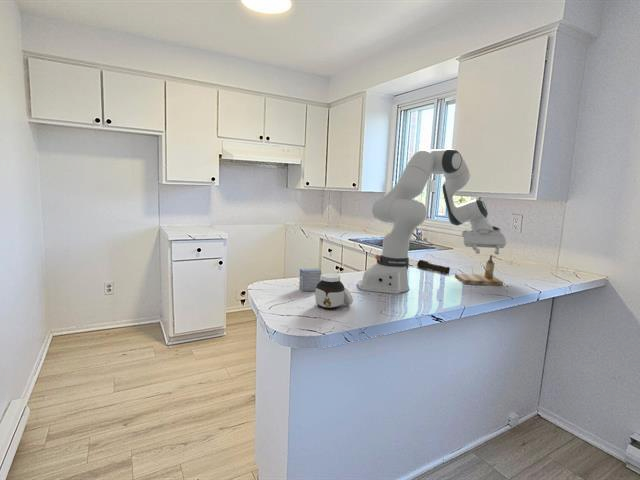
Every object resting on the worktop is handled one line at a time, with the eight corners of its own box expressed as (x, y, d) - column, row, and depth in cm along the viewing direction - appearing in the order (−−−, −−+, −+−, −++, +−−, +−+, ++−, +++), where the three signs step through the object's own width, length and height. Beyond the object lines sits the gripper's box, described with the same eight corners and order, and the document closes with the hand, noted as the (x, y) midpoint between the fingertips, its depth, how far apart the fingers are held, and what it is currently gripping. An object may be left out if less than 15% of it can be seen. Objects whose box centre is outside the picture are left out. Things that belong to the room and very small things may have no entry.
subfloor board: (464, 283, 171) (464, 279, 170) (454, 276, 184) (455, 273, 183) (502, 285, 170) (503, 281, 170) (490, 278, 183) (491, 274, 183)
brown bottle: (486, 278, 175) (489, 256, 173) (483, 276, 178) (485, 254, 177) (494, 278, 175) (496, 256, 173) (490, 276, 178) (493, 254, 177)
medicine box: (316, 287, 154) (317, 267, 153) (320, 290, 150) (321, 270, 149) (298, 288, 151) (299, 268, 150) (302, 292, 147) (303, 271, 146)
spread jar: (311, 306, 130) (313, 275, 129) (328, 299, 140) (330, 269, 138) (340, 314, 124) (342, 281, 122) (356, 305, 133) (358, 275, 131)
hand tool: (450, 274, 190) (450, 265, 190) (445, 275, 188) (446, 266, 187) (420, 266, 205) (421, 258, 204) (415, 267, 203) (416, 259, 202)
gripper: (463, 226, 185) (468, 248, 177) (503, 228, 185) (510, 250, 177) (459, 234, 190) (464, 255, 182) (498, 235, 190) (505, 257, 182)
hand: (487, 253), depth 179 cm, fingers open, 8 cm apart
